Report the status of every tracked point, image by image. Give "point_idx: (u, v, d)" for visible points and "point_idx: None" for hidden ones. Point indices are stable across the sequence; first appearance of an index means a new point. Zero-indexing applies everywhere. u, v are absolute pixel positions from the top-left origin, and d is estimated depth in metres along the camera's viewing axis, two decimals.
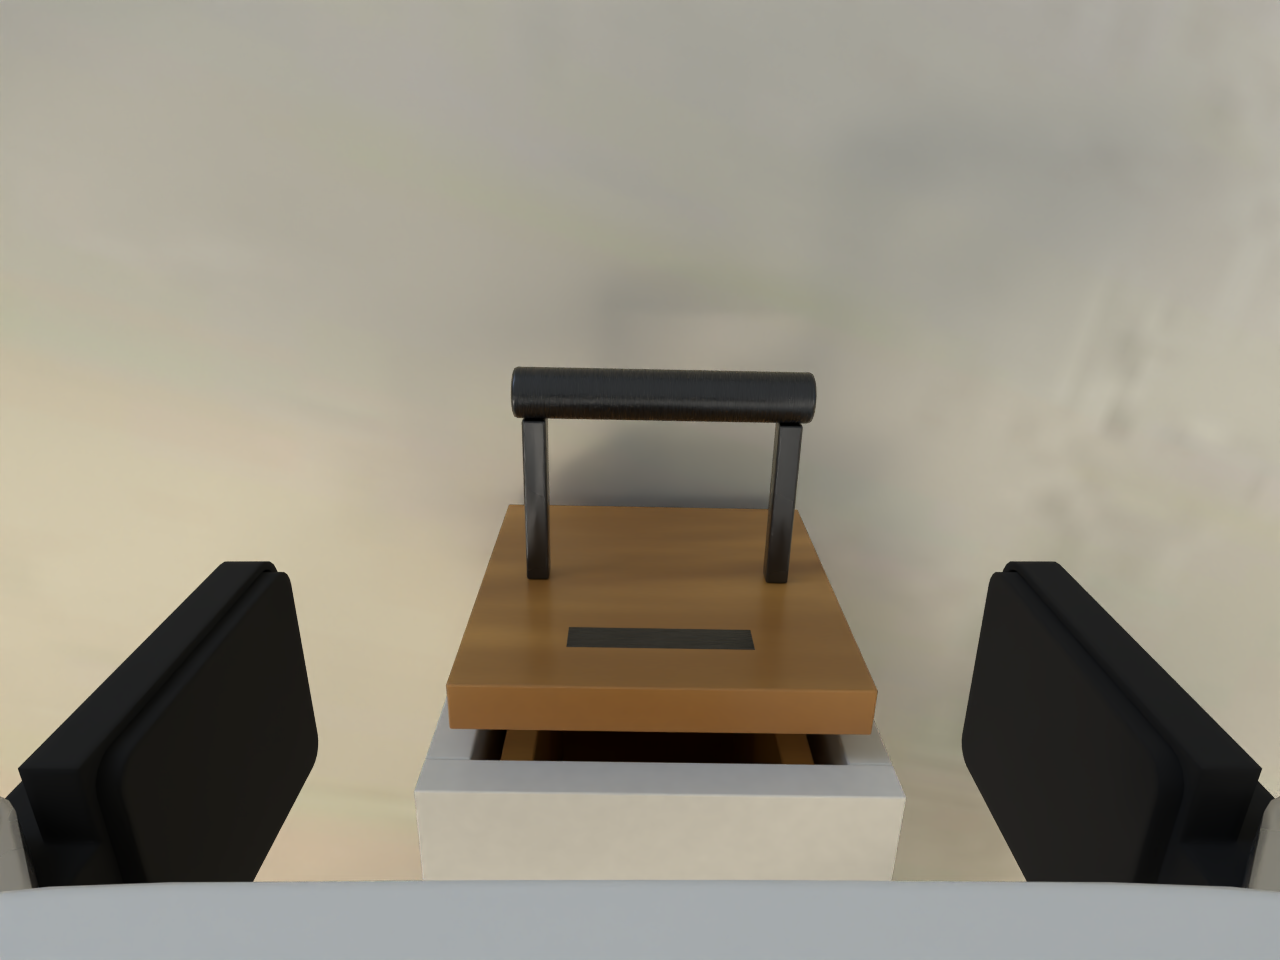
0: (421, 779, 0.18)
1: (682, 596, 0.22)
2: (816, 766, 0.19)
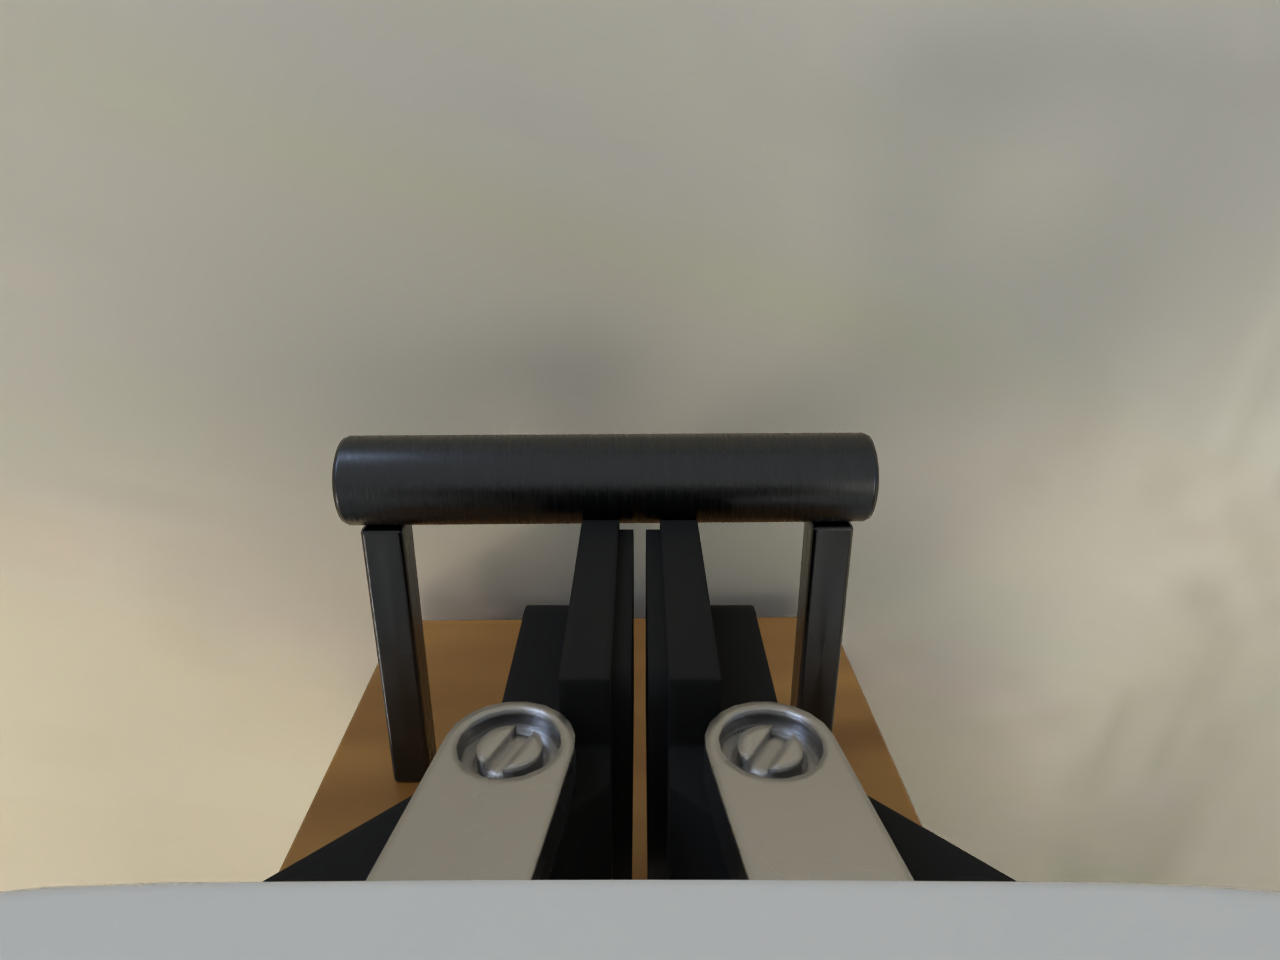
0: None
1: None
2: None
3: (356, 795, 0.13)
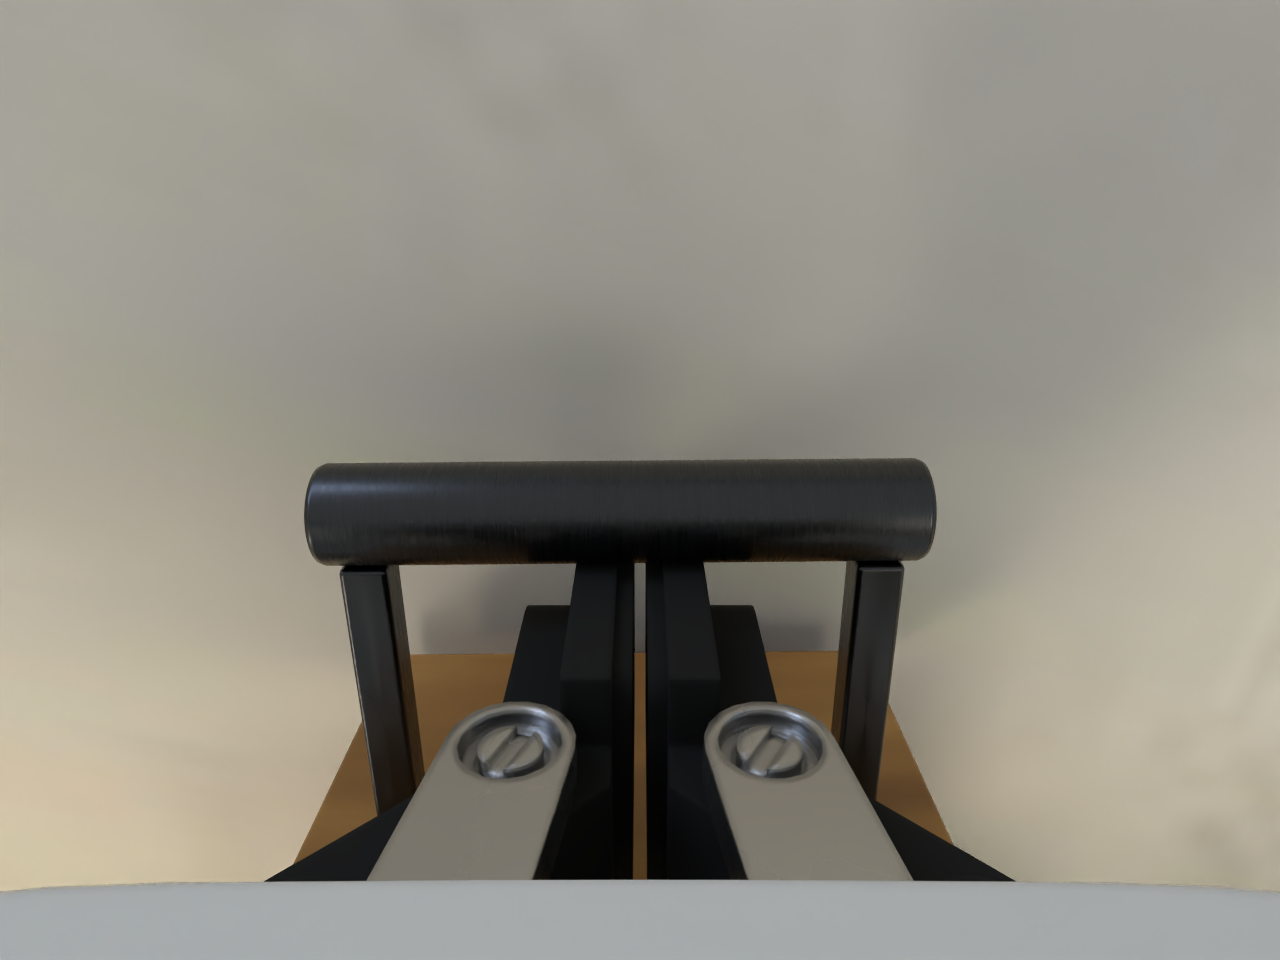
0: None
1: None
2: None
3: None
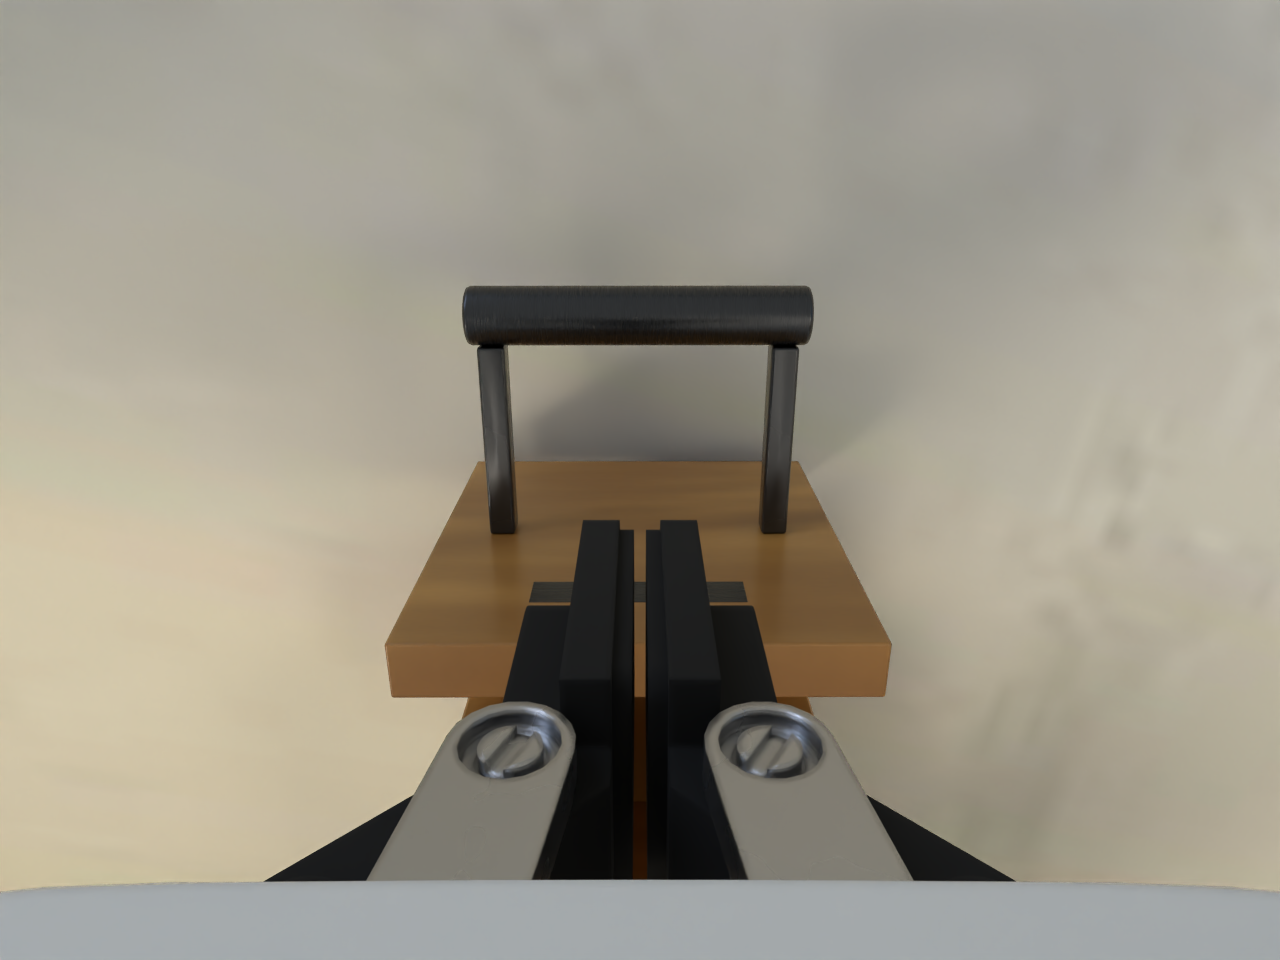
0: None
1: None
2: None
3: (466, 539, 0.20)
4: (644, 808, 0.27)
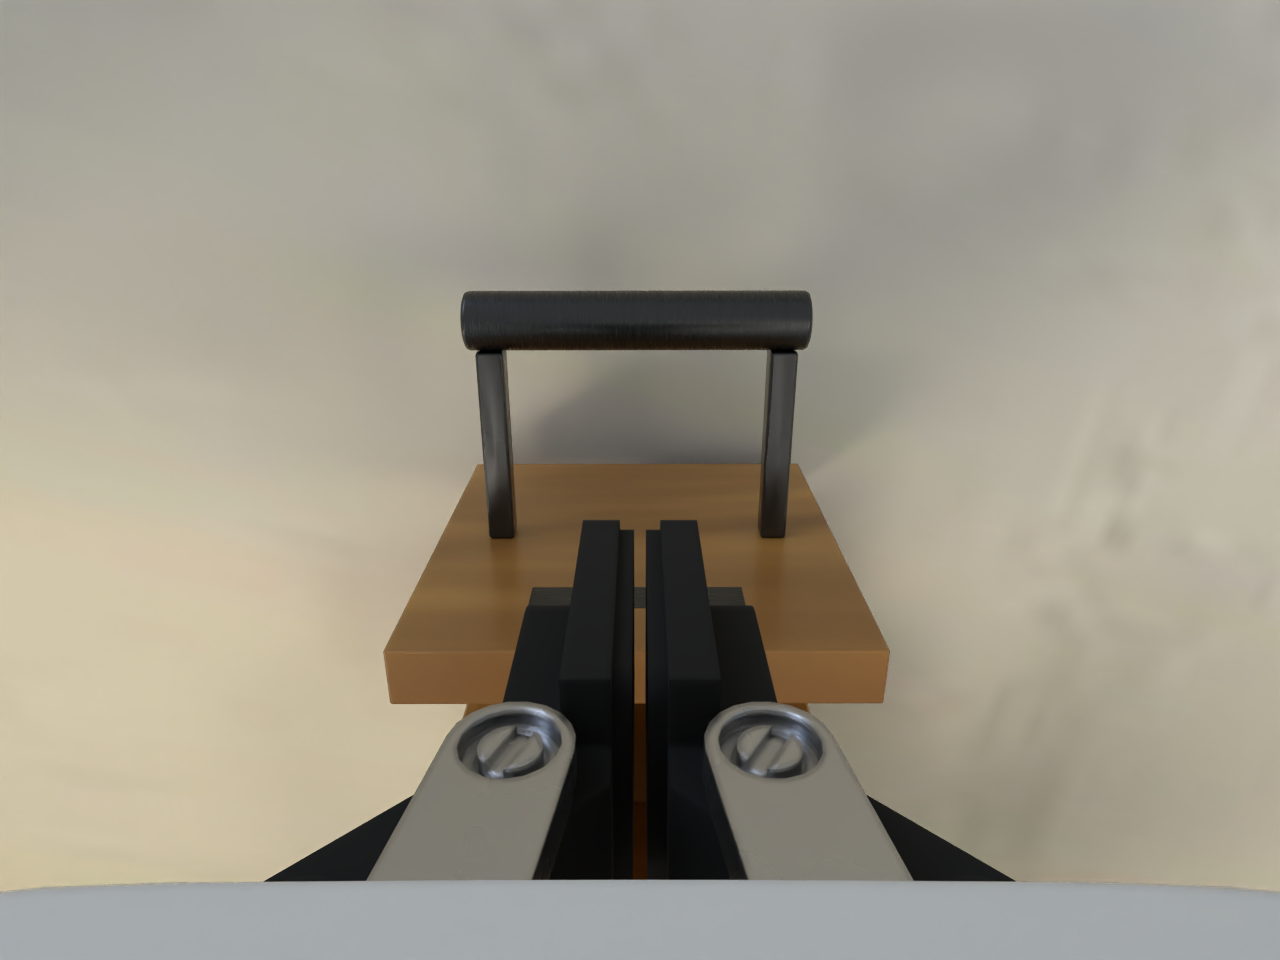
0: None
1: None
2: None
3: (465, 544, 0.20)
4: (644, 809, 0.27)
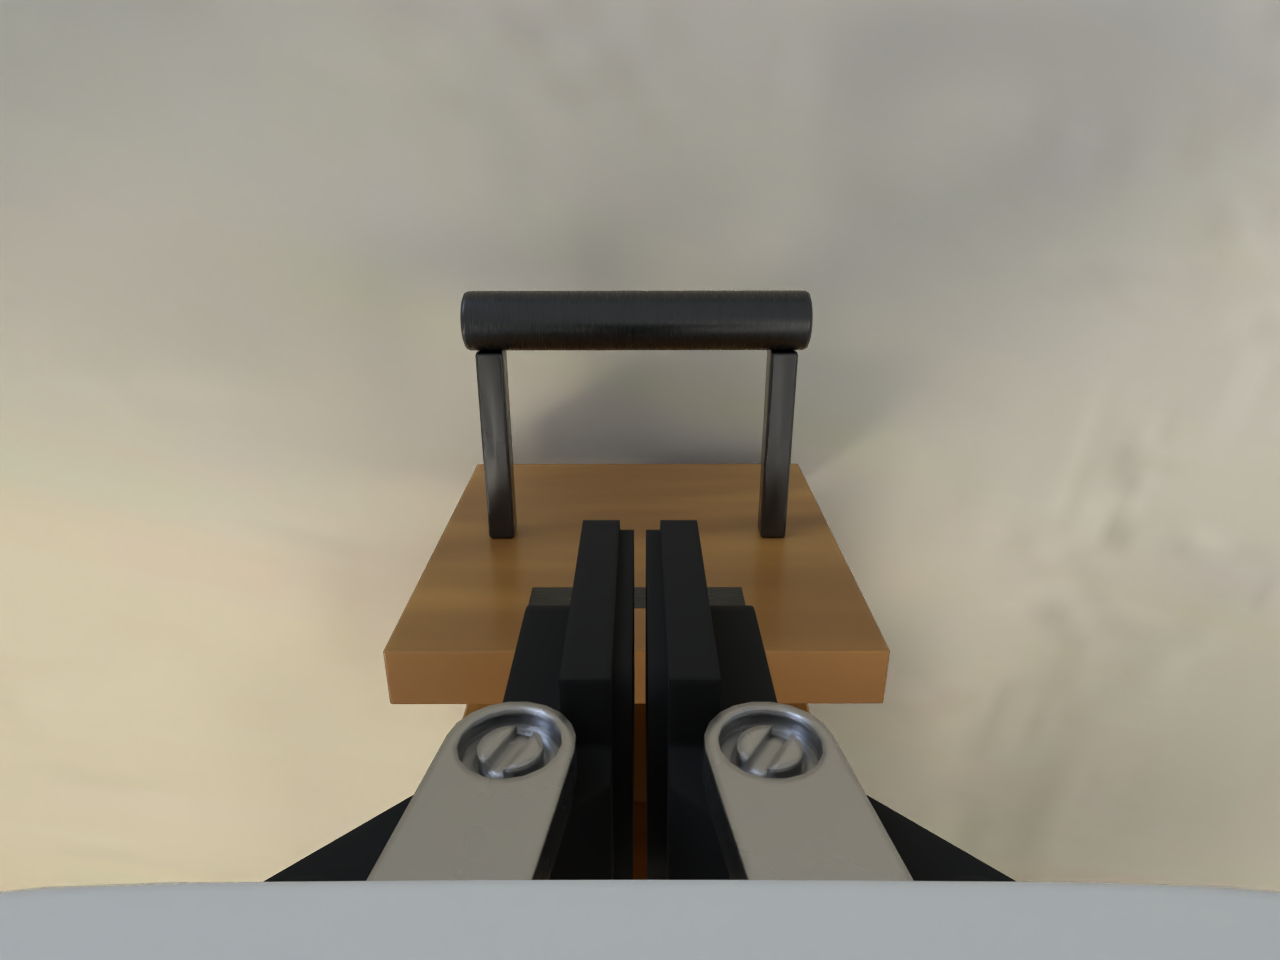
0: None
1: None
2: None
3: (465, 544, 0.20)
4: (644, 809, 0.27)
